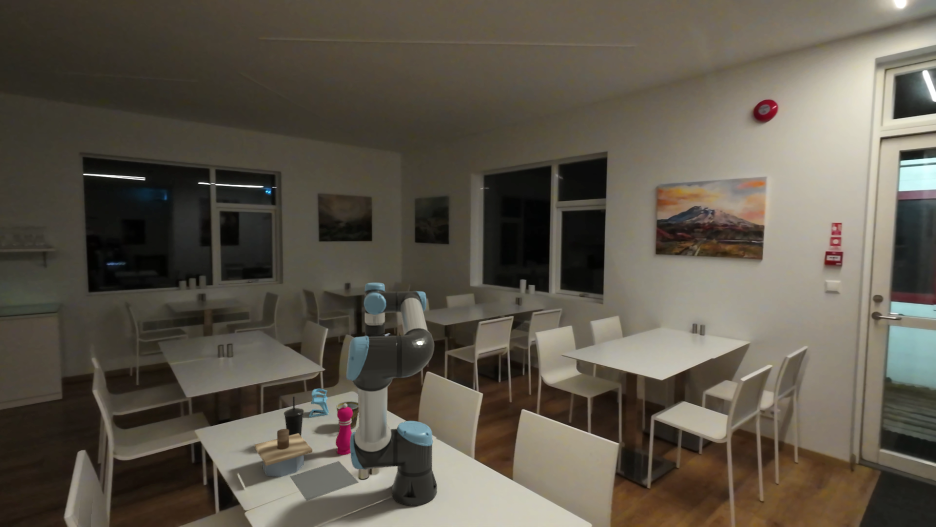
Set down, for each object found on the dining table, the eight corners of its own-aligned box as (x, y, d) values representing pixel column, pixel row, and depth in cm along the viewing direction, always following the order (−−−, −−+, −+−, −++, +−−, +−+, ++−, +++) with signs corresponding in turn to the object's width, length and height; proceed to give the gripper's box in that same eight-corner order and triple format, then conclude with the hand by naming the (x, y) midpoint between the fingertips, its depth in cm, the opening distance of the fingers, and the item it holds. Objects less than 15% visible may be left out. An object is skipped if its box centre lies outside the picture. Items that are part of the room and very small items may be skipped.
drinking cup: (307, 440, 189) (306, 393, 187) (298, 449, 181) (298, 400, 180) (290, 439, 189) (289, 392, 188) (280, 447, 182) (280, 399, 180)
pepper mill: (331, 454, 177) (331, 404, 176) (344, 446, 184) (344, 398, 182) (345, 458, 174) (345, 408, 173) (358, 450, 180) (358, 402, 179)
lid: (312, 452, 165) (312, 433, 164) (265, 465, 155) (265, 445, 154) (298, 436, 177) (298, 418, 177) (254, 447, 167) (254, 429, 167)
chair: (327, 417, 213) (327, 392, 212) (308, 417, 211) (308, 392, 211) (329, 410, 220) (329, 386, 219) (312, 411, 219) (312, 387, 218)
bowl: (307, 470, 165) (307, 451, 165) (269, 482, 157) (269, 462, 157) (296, 456, 176) (295, 438, 175) (260, 466, 168) (259, 448, 167)
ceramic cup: (335, 424, 205) (334, 402, 204) (357, 420, 209) (357, 399, 208) (339, 436, 193) (339, 413, 192) (363, 432, 197) (363, 410, 196)
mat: (358, 483, 157) (358, 482, 157) (306, 502, 146) (306, 500, 146) (338, 462, 171) (338, 461, 171) (290, 477, 160) (290, 476, 160)
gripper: (398, 318, 183) (398, 369, 184) (339, 325, 167) (339, 381, 169) (408, 321, 177) (407, 374, 178) (347, 328, 162) (347, 386, 163)
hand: (374, 377), depth 174 cm, fingers open, 13 cm apart
